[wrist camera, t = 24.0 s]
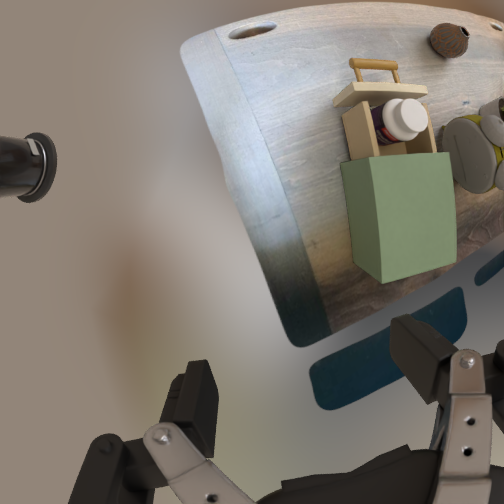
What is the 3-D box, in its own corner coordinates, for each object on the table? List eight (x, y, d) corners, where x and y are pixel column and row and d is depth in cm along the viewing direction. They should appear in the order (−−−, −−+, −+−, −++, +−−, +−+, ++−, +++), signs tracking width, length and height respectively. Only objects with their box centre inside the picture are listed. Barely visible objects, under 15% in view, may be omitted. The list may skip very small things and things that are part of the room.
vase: (453, 67, 31) (481, 55, 23) (426, 51, 31) (453, 35, 22) (449, 42, 30) (475, 28, 21) (423, 26, 30) (447, 8, 21)
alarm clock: (464, 184, 37) (526, 190, 22) (440, 194, 37) (505, 203, 23) (445, 120, 34) (506, 107, 20) (420, 126, 35) (483, 111, 20)
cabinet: (339, 163, 36) (368, 157, 27) (410, 156, 36) (449, 152, 26) (353, 262, 39) (382, 284, 30) (420, 246, 39) (456, 262, 30)
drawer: (324, 71, 32) (341, 49, 24) (390, 73, 32) (416, 56, 24) (350, 192, 36) (375, 195, 28) (415, 183, 36) (446, 185, 28)
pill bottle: (359, 141, 33) (394, 129, 24) (361, 106, 32) (395, 85, 23) (392, 150, 34) (432, 143, 24) (394, 116, 32) (432, 101, 23)
